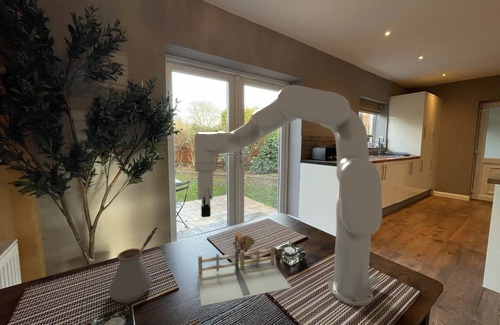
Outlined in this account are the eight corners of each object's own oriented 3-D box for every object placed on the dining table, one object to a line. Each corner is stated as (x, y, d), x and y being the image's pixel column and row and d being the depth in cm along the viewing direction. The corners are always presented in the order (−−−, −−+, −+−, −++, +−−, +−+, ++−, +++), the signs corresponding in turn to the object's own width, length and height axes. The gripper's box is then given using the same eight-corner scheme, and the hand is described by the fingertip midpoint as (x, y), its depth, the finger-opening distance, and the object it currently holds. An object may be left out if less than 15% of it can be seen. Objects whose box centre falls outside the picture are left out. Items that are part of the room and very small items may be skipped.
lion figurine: (256, 257, 87) (256, 235, 86) (245, 261, 84) (245, 239, 83) (237, 242, 99) (237, 223, 98) (227, 245, 96) (227, 226, 95)
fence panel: (238, 267, 78) (238, 250, 77) (238, 268, 77) (238, 251, 76) (198, 273, 74) (198, 255, 74) (198, 275, 73) (198, 257, 72)
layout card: (270, 259, 85) (270, 257, 85) (291, 288, 68) (291, 287, 68) (197, 270, 77) (197, 268, 77) (201, 307, 60) (201, 305, 60)
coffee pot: (137, 310, 59) (135, 258, 58) (99, 306, 61) (96, 255, 59) (173, 265, 80) (172, 227, 79) (144, 263, 82) (142, 225, 80)
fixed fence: (273, 262, 82) (273, 246, 81) (274, 264, 81) (274, 247, 80) (239, 268, 78) (239, 250, 78) (240, 269, 77) (240, 252, 77)
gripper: (194, 164, 84) (194, 210, 86) (195, 170, 69) (196, 225, 71) (213, 164, 86) (213, 209, 88) (219, 169, 72) (219, 222, 73)
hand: (205, 216), depth 79 cm, fingers closed
